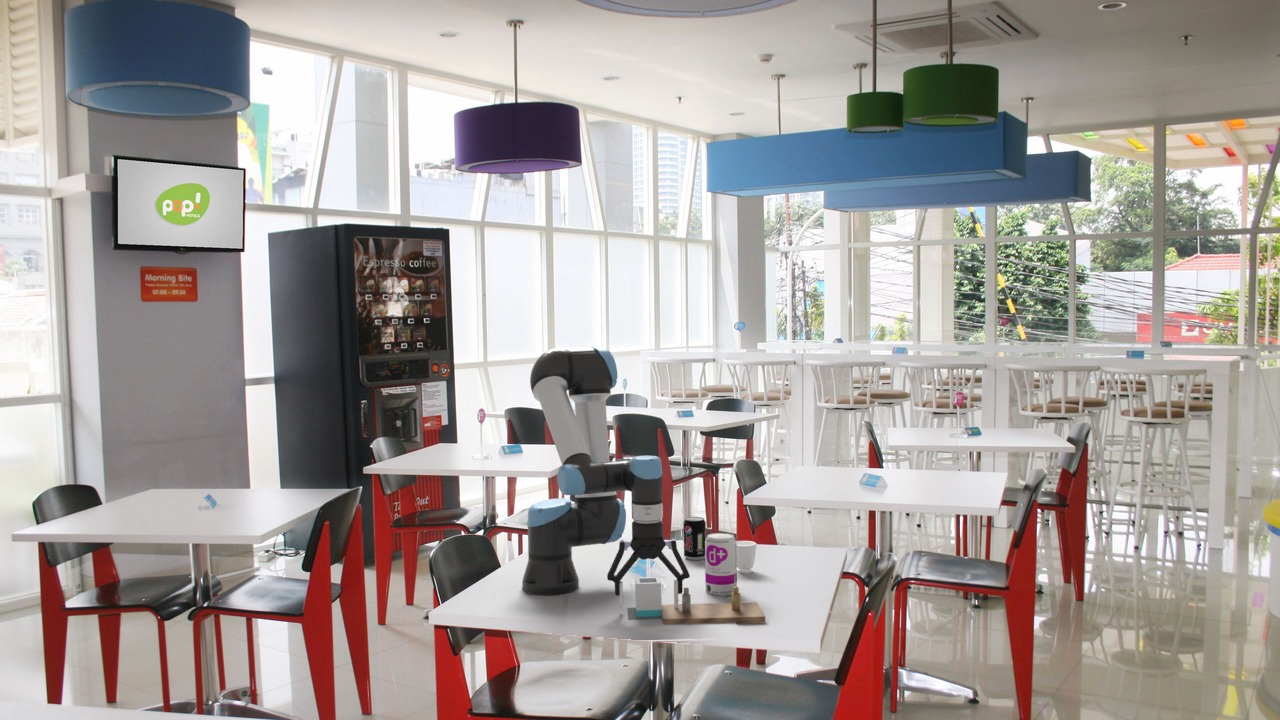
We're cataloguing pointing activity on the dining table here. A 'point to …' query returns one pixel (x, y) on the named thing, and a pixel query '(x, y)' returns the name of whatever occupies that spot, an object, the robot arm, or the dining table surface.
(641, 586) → the sleeve
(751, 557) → the cup
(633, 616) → the mat
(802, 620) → the dining table surface
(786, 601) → the dining table surface
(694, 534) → the beverage can
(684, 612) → the pinboard
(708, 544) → the supplement can
